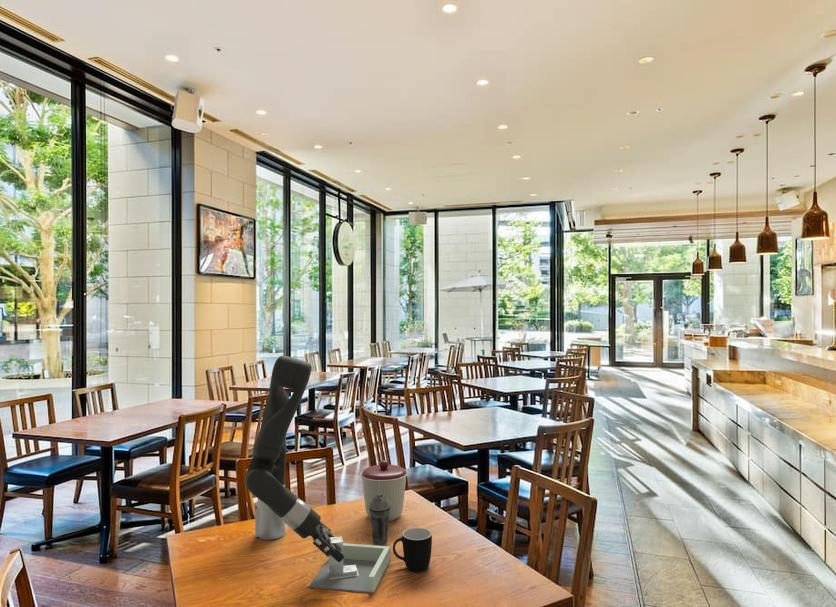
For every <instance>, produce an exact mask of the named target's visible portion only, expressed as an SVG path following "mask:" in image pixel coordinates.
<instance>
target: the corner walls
mask: <svg viewBox="0 0 836 607" xmlns="http://www.w3.org/2000/svg"><path fill="white" fill-rule="evenodd" d="M343 555H344V558H343V559H355V560H368V561H377V562H376V564H375V566H374V568H373V570H372V571H371V573H370V575H369V593H368V594H375V592H376V591H377V589H376V587H377V585H378V583H379V582H380V583H381V581H382V579H381V578H383V577H382V575H383V573H384V574H385V572H386V571H387V569H386V567H387V565H388V563H389V561H390V562H391V546H390V545H389V546H388V545H387V546H385V545H375V544H360V543H347V542H343ZM389 564H390V563H389ZM388 566H389V565H388ZM387 568H388V567H387ZM385 569H386V570H385ZM384 571H385V572H384ZM383 576H384V575H383ZM380 579H381V580H380ZM380 583H379V584H380ZM378 586H379V585H378ZM377 588H378V587H377ZM375 590H376V591H375ZM374 591H375V592H374ZM370 592H371V593H370ZM372 592H373V593H372Z"/></svg>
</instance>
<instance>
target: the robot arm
mask: <svg viewBox="0 0 836 607" xmlns="http://www.w3.org/2000/svg"><path fill="white" fill-rule="evenodd" d="M272 367H273V368H272V371H271V377H270V385H269V389H268V395H267V400H266V402H265V407H264V409H263V413H262V416H261V417H262V418H261V424H260V428H259V432H258V435H257V436H256V439H255V441H254V444H253V449H252V459H251V461H250V463H249V466H248V468H247V471H246V473H245V476H244V485H245V487H246V489H247V490H248V491H249V493H251V494H252V495H253V496H254V497H256V498H257V508H255V509H254V510H255V512H254V513H255V514H254V516H255V518H254V520H255V524H254V525H255V526H254V527H255V528H254V530H255V532H254V534H255V535H254V536H255V538H258V537H259V538H258V539H260V540H263V541H264V540H265V541H270V540H276V539H280V538H282V537H284V536H285V534H286V526H288V528H290V529H291V530H292V532H294V533H296V534H297V535H298V536H299V537H300V538H302V539H303V540H304V539H308V537H311V538H312V544H313V545H314V546H315V547H316V548H317V549H318V550H320V551H321V552H322V554H324V555H325V556H326V557H329V555H331V556H332V557H333V558H334V559H335V560H336V561H338V562H341V561H342V560H343V558H344V555H343V554H342V553H341V552H340V551H339V550H337V549H336V548H335V546H333V544H332V543H331V542H332V540H331V539H330V538H331V537H335V536H334V535H333V532H332V530H331V529H330V528H329V527H327V525H326V524H324V523H323V522H322V521H321V520H322V519H321V515H320V514H318V513H317V512H316V511H315V510H314V509H313V508H312V507H311V506H310V505H308V504H307V503H306V502H305V501H303V500H302V499H300V498H299V497H298V496H296V495H295V494H294V492H292V491H291V490H290V489H289V488H287V487H286V465H287V464H286V461H287V445H286V441H285V440H286V436H287V435H288V434H287V433H288V430H289V428H290V426H291V423H292V422H293V419H294V417H295V415H296V413H297V410H298V408H299V406H300V403H301V402H302V398H303V395H304V393H305V391H306V388H307V385H308V384H309V381H310V377H311V375H312V374H311V373H312V364H311V363H310V362H308V361H306V360H302V359H298V358H295V357H292V356H289V355H280V356H279V357H278V358H277V359H276V360H275V362H274V364H273V366H272ZM285 389H289V390H292V391H293V392H292V395H291V396H290V397H289V395H288V394H287V392H286V391H285ZM328 547H329V548H330V549H329V550H328Z"/></svg>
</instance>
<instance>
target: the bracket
mask: <svg viewBox="0 0 836 607" xmlns="http://www.w3.org/2000/svg"><path fill="white" fill-rule="evenodd" d="M330 539H331V540H332V542H331V543H332V544H333V546H335V548H336V549H337V550H339V551H340V552H341V553H342V554H343V543H344V540H343V536H342V535H341V536H334V537H331V538H330ZM329 549H330V548H329V547H327V550H329ZM328 560H329V579H330V578H338V577H346V576H354V575H357V568H356V565H348V566H343V560H342V561H341V562H338V561H336V560H335V559H334V558H333V557H332V556H331V555H329V557H328V559H327V561H328Z"/></svg>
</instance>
